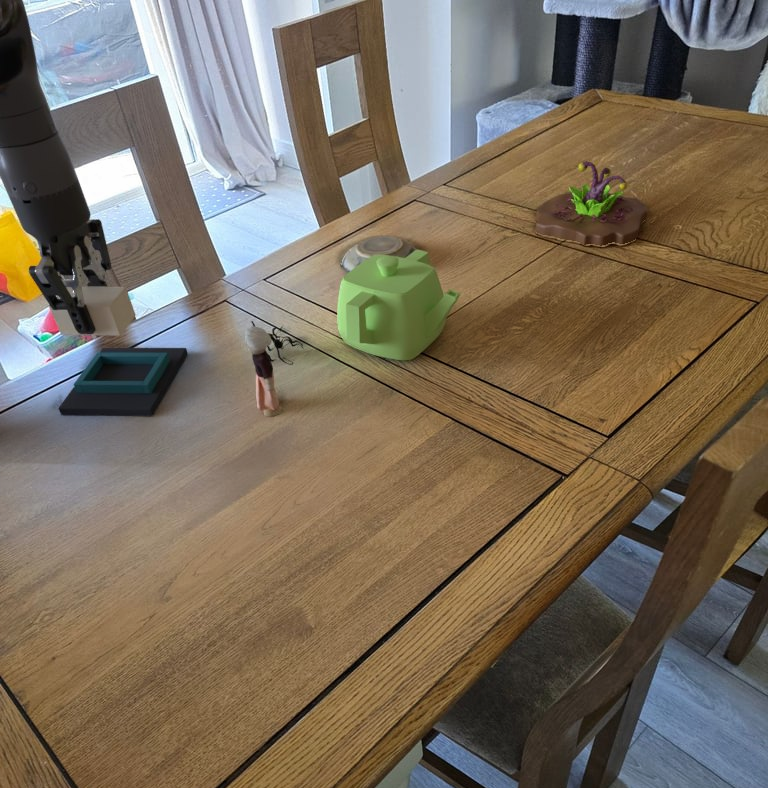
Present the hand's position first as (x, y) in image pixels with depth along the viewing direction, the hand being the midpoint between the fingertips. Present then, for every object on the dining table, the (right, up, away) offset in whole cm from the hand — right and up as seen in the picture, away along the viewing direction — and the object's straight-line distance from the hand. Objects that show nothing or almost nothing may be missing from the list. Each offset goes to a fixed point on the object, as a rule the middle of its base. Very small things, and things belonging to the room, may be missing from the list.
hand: (96, 320), depth 88 cm
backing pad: (-2, -5, +17) cm, 18 cm away
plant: (+75, +30, +44) cm, 92 cm away
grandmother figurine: (+21, -10, +10) cm, 25 cm away
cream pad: (0, 0, 0) cm, 1 cm away
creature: (+20, 0, +20) cm, 28 cm away
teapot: (+40, +2, +19) cm, 44 cm away
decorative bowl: (+36, +21, +39) cm, 57 cm away
